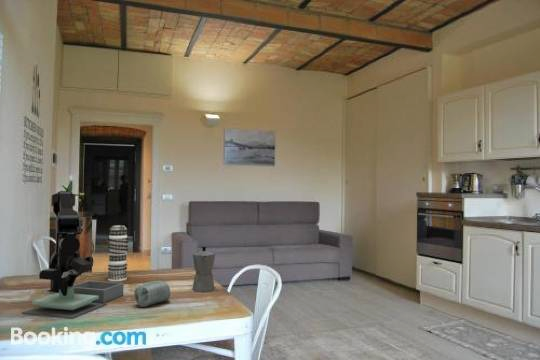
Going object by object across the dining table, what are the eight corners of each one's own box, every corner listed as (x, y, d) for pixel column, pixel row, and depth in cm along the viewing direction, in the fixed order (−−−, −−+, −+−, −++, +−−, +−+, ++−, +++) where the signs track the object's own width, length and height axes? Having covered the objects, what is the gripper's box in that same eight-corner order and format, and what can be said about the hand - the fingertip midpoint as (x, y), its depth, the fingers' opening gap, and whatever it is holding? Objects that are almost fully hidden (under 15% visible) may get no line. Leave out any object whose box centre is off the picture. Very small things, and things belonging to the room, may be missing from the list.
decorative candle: (123, 281, 187) (124, 226, 187) (103, 281, 187) (104, 226, 188) (130, 277, 196) (131, 224, 197) (111, 277, 196) (112, 224, 197)
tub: (66, 300, 153) (66, 287, 153) (88, 293, 165) (88, 280, 165) (103, 303, 149) (103, 290, 149) (123, 295, 161) (123, 283, 161)
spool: (143, 302, 140) (143, 274, 145) (128, 310, 145) (128, 282, 150) (177, 304, 149) (175, 278, 154) (162, 312, 154) (160, 286, 159)
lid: (31, 307, 138) (32, 289, 138) (59, 298, 150) (60, 281, 151) (73, 311, 134) (73, 292, 134) (98, 301, 146) (99, 284, 146)
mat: (21, 313, 136) (21, 312, 136) (60, 300, 153) (60, 299, 153) (72, 318, 131) (72, 317, 131) (106, 305, 148) (106, 303, 148)
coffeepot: (216, 292, 167) (216, 248, 168) (192, 293, 165) (193, 249, 166) (212, 284, 182) (213, 243, 183) (191, 285, 180) (191, 244, 181)
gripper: (67, 255, 132) (65, 304, 131) (104, 247, 150) (103, 290, 149) (38, 253, 135) (37, 301, 134) (78, 246, 153) (77, 288, 152)
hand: (66, 295), depth 142 cm, fingers closed on lid
